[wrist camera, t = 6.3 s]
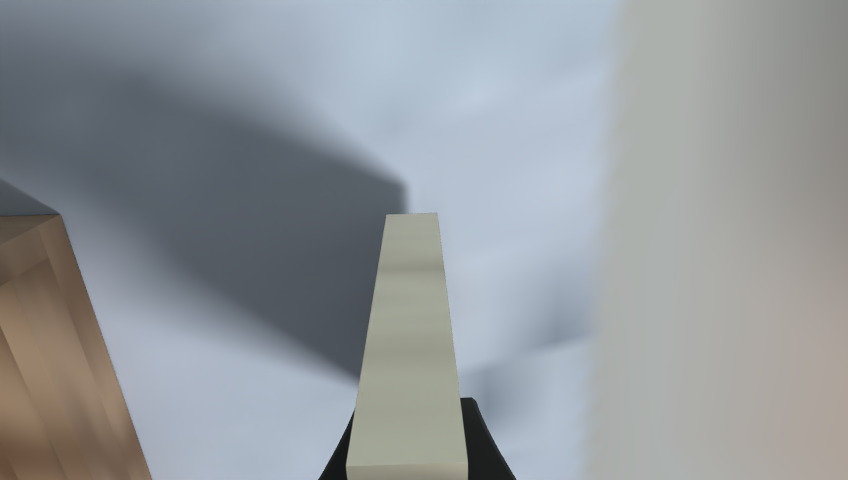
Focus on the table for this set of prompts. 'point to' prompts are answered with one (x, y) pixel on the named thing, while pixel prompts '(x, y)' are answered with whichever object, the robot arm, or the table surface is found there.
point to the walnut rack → (56, 366)
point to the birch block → (409, 365)
